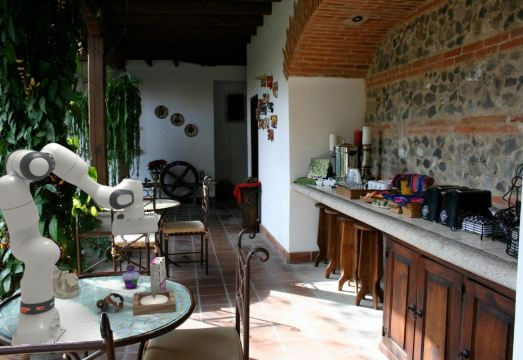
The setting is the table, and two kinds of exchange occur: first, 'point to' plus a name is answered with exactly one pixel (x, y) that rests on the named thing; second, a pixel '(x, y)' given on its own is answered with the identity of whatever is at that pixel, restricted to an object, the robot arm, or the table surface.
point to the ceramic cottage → (65, 284)
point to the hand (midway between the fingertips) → (136, 243)
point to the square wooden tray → (154, 308)
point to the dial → (154, 298)
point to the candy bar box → (158, 273)
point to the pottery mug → (110, 302)
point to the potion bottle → (130, 277)
